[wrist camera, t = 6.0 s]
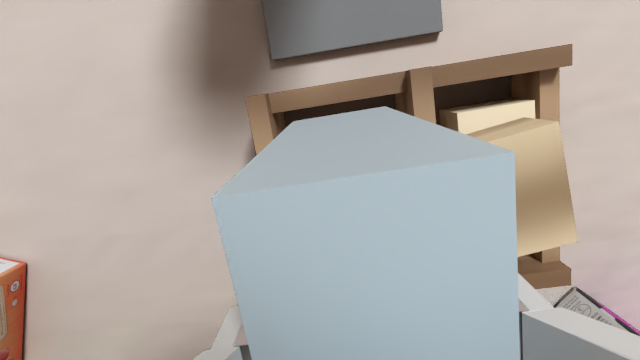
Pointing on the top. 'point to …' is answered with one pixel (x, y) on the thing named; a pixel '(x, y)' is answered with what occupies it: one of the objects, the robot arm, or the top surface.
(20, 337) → the cracker box
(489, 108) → the block
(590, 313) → the candy bar box
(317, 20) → the mat
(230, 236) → the board
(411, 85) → the rack
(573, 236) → the upper offcut
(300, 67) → the top surface
